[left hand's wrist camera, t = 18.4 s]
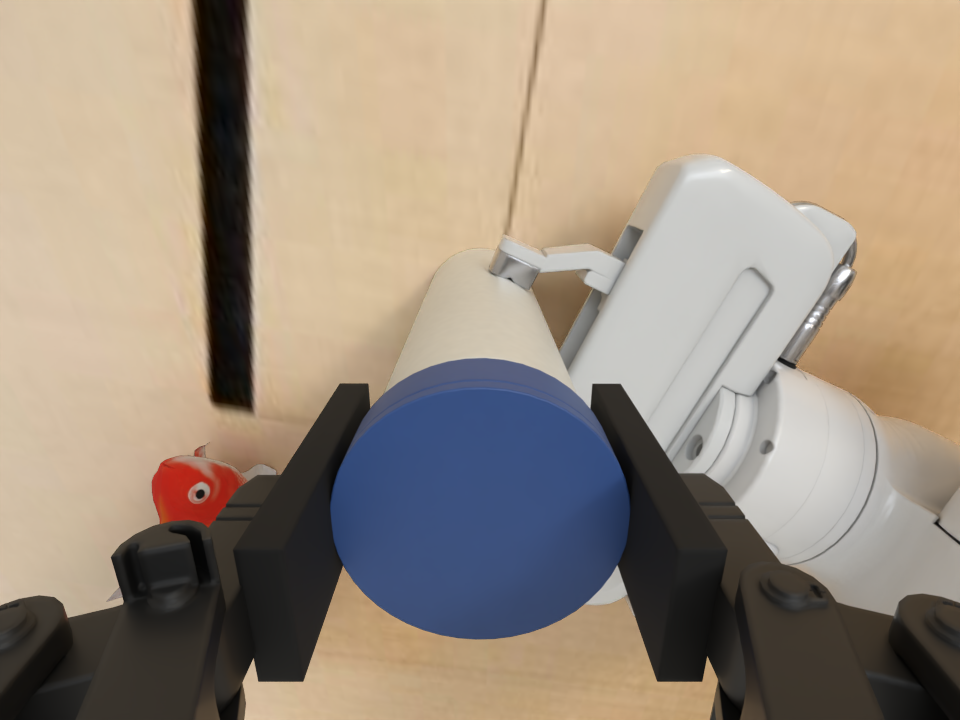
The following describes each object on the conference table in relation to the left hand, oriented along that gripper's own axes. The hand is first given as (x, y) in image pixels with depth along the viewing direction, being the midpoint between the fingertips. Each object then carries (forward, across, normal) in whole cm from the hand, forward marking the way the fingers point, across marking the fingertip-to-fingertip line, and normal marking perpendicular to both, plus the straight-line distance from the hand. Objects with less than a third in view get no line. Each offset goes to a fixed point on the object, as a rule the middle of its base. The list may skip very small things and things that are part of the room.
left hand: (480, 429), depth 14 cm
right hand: (+9, -1, 0) cm, 9 cm away
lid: (-4, 0, 0) cm, 4 cm away
